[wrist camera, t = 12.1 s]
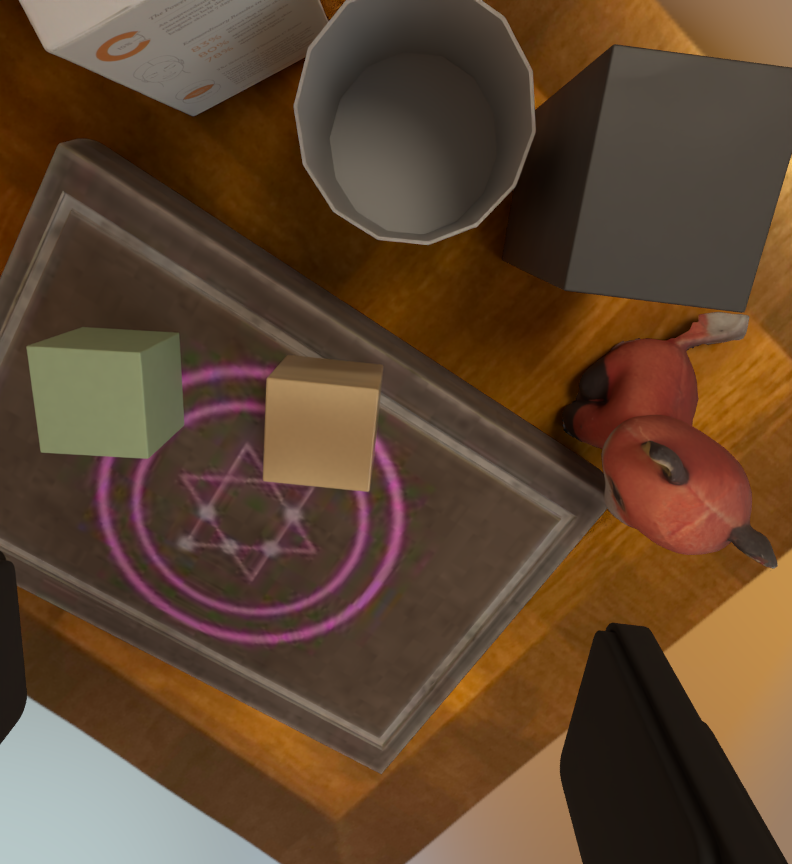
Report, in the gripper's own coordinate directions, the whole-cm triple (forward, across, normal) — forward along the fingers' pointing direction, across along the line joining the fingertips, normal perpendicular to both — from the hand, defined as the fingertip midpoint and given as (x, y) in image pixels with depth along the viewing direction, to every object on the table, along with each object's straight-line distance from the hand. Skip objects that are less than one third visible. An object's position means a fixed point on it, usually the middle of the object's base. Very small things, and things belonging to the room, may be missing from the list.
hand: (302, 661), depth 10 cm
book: (+26, +6, +9) cm, 28 cm away
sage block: (+21, +11, +2) cm, 24 cm away
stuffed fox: (+26, -15, +1) cm, 30 cm away
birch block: (+21, +2, +2) cm, 21 cm away
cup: (+26, -1, -10) cm, 28 cm away
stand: (+26, -9, -8) cm, 29 cm away
